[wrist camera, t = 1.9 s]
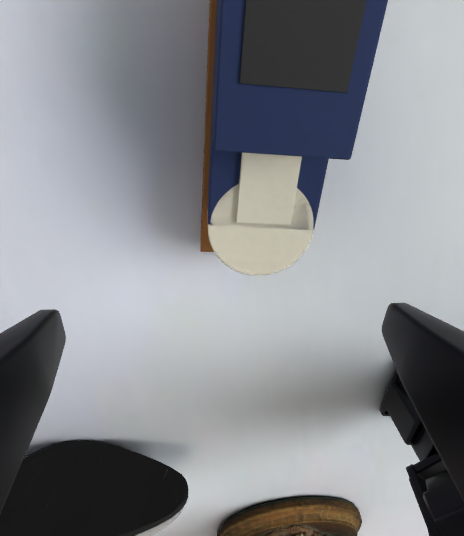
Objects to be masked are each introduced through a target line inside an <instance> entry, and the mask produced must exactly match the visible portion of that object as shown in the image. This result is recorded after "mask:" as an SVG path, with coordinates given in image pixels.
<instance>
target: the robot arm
mask: <svg viewBox="0 0 464 536" xmlns="http://www.w3.org/2000/svg"><path fill="white" fill-rule="evenodd" d="M382 334H383V337H384V340H385V342H386V345H387V347H388V350H389V352H390V355H391V357H392V360H393V362H394V365H395V368H396V371H395V373H394V376H393V378H392V381H391V383H390V385H389V388H388V390H387V393H386V395H385V397H384V400H383V402H382V405H381V407H380V412H381V414H382V415H383V416H391V418H392V420H393V422H394V424H395V426H396V427H397V429H398V431H399V433H400V435H401V436H402V438H403V440H404V442H405V443H406V444H407V445H411V446H412V448H413V449H414V451H415V453H416V455H417V456H418V458H419V460H420V462H418V463H416V464H414V465H412V464H411V465H410V466H408V467H406V470H407V472H408V475H409V481H410V484H411V486H412V489H413V491H414V494H415V497H416V499H417V502H418V504H419V507H420V510H421V512H422V515H423V518H424V520H425V523H426V525H427V528H428V533H429V536H464V331H462V330H460V329H458V328H456V327H454V326H452V325H450V324H448V323H446V322H443V321H441V320H439V319H437V318H435V317H433V316H431V315H429V314H427V313H425V312H423V311H421V310H419V309H417V308H415V307H413V306H411V305H409V304H406V303H391V304H390V305H389V306H388V308H387V312H386V315H385V318H384V321H383V325H382ZM65 340H66V336H65V331H64V327H63V323H62V319H61V316H60V313H59V311H57V310H40V311H38V312H36V313H35V314H33V315H31V316H29V317H28V318H26V319H24V320H23V321H21V322H19V323H17V324H16V325H14V326H12V327H11V328H9V329H7V330H5V331H4V332H2V333H0V514H1V511H2V509H3V507H4V504H5V502H6V499H7V497H8V495H9V492H10V490H11V487H12V485H13V483H14V480H15V478H16V476H17V473H18V471H19V468H20V466H21V464H22V461H23V459H24V456H25V454H26V452H27V449H28V447H29V444H30V442H31V440H32V437H33V435H34V432H35V430H36V428H37V425H38V423H39V421H40V418H41V416H42V413H43V411H44V409H45V406H46V404H47V401H48V399H49V396H50V393H51V390H52V387H53V383H54V380H55V377H56V373H57V370H58V366H59V363H60V359H61V356H62V352H63V349H64V345H65Z"/></svg>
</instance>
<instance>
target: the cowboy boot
mask: <svg viewBox="0 0 464 536" xmlns="http://www.w3.org/2000/svg"><path fill="white" fill-rule="evenodd" d="M187 499H188V485H187V482H186V479H185V478H184V477H183V476H182V474H180V473H179V472H177V471H176V470H174V469H173V468H171V467H169V466H167V465H165V464H163V463H161V462H158V461H156V460H154V459H151V458H149V457H147V456H144V455H142V454H139V453H136V452H133V451H130V450H127V449H124V448H121V447H118V446H114V445H110V444H105V443H101V442H95V441H78V440H76V441H67V442H62V443H58V444H54V445H51V446H48V447H46V448H43V449H41V450H39V451H37V452H35V453H33V454H31V455H29V456H28V457H26V458H24V459H23V461H22V464H21V466H20V468H19V471H18V473H17V476H16V478H15V480H14V483H13V485H12V487H11V490H10V492H9V495H8V497H7V499H6V502H5V504H4V507H3V509H2V511H1V514H0V536H152V535H154V534H155V533H157V532H159V531H160V530H162V529H163V528H165V527H166V526H168V525H169V524H170V523H171V522H172V521H173V520H175V519H176V518H177V516H178V515H179V514H180V513H181V511H182V509H183V507H184V505H185V504H186V501H187Z"/></svg>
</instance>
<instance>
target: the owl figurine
mask: <svg viewBox="0 0 464 536" xmlns="http://www.w3.org/2000/svg"><path fill="white" fill-rule="evenodd" d="M361 523H362V519H361V516H360V512H359V510H358V509H357V507H356V506H354V504H353V503H352V502H349V501H347V500H345V499H340V498H332V497H315V496H314V497H311V496H309V497H297V498H290V499H283V500H277V501H273V502H267V503H264V504H260V505H256V506H254V507H251V508H248V509H246V510H243V511H241V512H239V513H237V514H235V515H234V516H232V517H231V518H229V519H228V520H226V521H225V522H224V523H223V525H222V527H221V529H219V531H218V534H217V536H357V533H358V530H359V529H360V527H361Z"/></svg>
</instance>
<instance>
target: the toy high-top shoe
mask: <svg viewBox="0 0 464 536" xmlns="http://www.w3.org/2000/svg"><path fill="white" fill-rule="evenodd" d="M387 2H388V0H210V11H209V37H208V63H207V89H206V116H205V142H204V168H203V194H202V220H201V252H215V254H216V255H217V257H218V258H219V259H220V260H221V261H222V262H223V263H224V264H225V265H227V266H228V267H230V268H231V269H233V270H235V271H237V272H240V273H243V274H248V275H268V274H272V273H276V272H279V271H281V270H283V269H285V268H287V267H289V266H290V265H292V264H293V263H294V262H295V261H297V260H298V259H299V258H300V257H301V256H302V254H303V253H304V252H305V250H306V249H307V247H308V245H309V244H310V241H311V239H312V236H313V232H314V227H315V222H316V217H317V213H318V208H319V203H320V198H321V193H322V188H323V183H324V179H325V174H326V169H327V164H328V159H329V158H330V159H345V160H349V159H350V158H351V155H352V151H353V146H354V142H355V138H356V134H357V129H358V125H359V121H360V117H361V112H362V108H363V104H364V100H365V95H366V91H367V87H368V83H369V78H370V74H371V70H372V66H373V61H374V57H375V53H376V49H377V44H378V40H379V36H380V32H381V27H382V23H383V19H384V15H385V10H386V6H387Z"/></svg>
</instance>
